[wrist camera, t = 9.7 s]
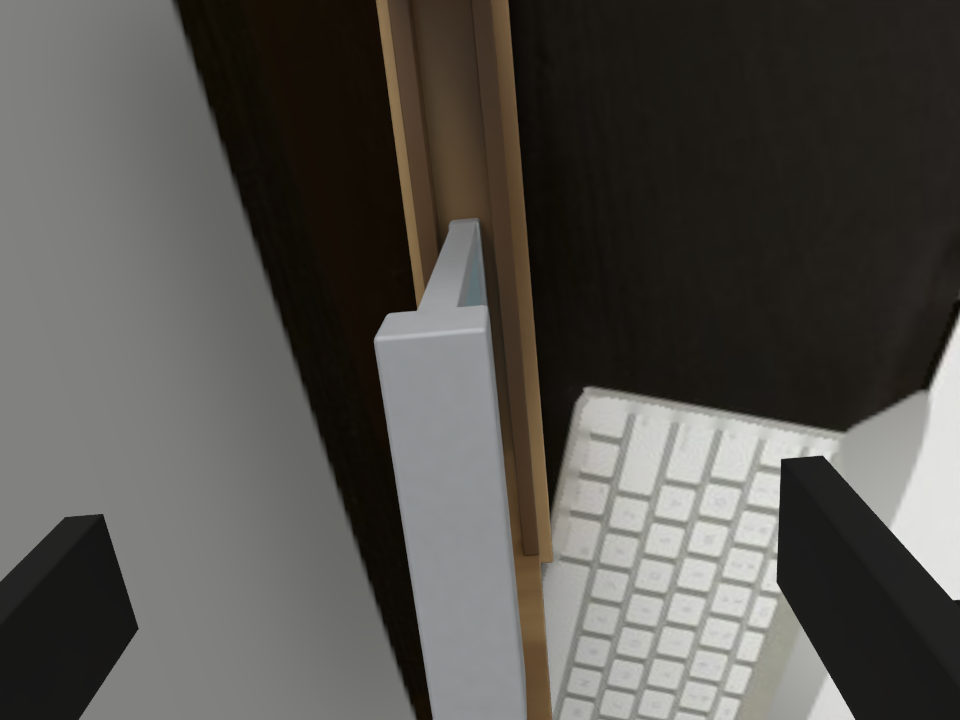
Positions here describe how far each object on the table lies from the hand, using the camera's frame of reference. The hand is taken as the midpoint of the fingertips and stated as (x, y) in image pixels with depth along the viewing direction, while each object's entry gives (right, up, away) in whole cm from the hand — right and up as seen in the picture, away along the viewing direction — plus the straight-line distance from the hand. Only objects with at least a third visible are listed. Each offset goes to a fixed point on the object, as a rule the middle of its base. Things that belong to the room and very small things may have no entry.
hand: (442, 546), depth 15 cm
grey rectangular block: (+1, +4, +12) cm, 12 cm away
